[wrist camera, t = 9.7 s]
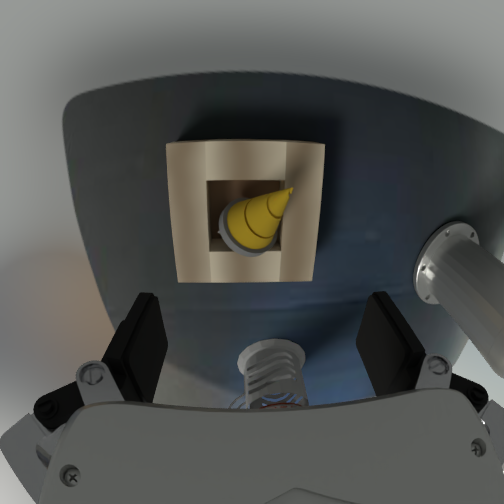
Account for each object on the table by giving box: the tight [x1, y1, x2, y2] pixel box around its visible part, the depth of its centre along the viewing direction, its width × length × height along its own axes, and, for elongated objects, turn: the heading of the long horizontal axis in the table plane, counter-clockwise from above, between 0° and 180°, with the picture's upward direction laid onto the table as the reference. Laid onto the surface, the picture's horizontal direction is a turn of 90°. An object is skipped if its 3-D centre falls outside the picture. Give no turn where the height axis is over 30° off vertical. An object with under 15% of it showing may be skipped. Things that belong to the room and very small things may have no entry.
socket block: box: [166, 139, 325, 282], centre depth 25 cm, size 13×13×4 cm
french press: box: [228, 339, 309, 409], centre depth 26 cm, size 10×12×25 cm
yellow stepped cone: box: [217, 187, 293, 257], centre depth 23 cm, size 5×5×10 cm
